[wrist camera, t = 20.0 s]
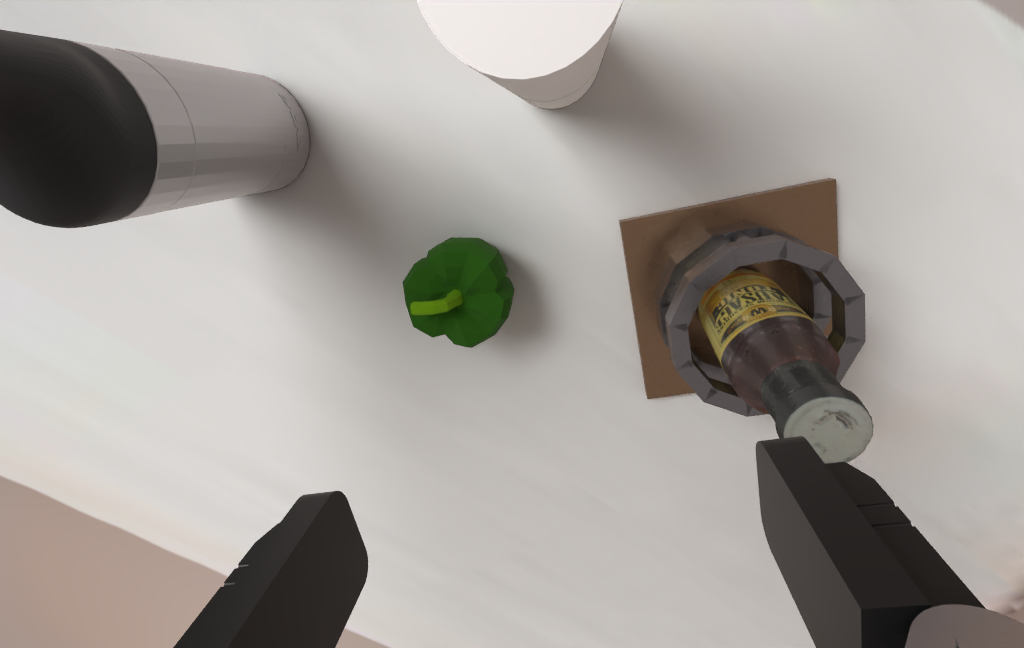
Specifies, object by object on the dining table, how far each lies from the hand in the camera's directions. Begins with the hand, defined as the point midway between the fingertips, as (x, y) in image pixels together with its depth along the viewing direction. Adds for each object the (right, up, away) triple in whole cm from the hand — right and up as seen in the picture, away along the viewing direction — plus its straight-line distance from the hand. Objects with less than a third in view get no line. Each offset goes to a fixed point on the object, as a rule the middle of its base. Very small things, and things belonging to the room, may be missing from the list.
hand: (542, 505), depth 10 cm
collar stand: (+18, +6, +34) cm, 39 cm away
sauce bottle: (+17, +5, +34) cm, 38 cm away
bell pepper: (-4, +8, +36) cm, 37 cm away
